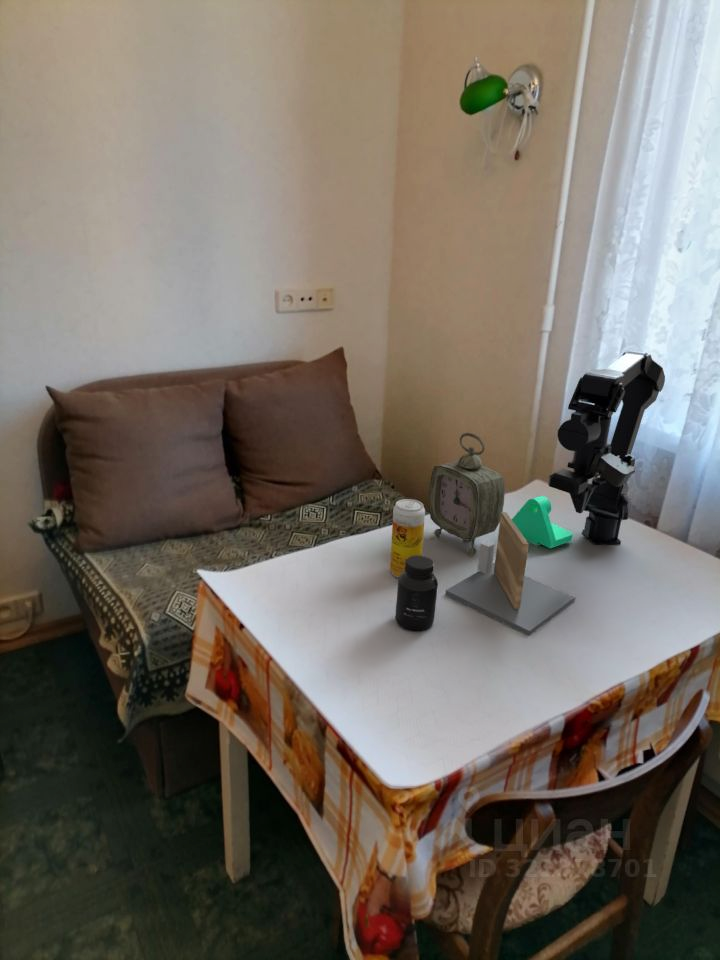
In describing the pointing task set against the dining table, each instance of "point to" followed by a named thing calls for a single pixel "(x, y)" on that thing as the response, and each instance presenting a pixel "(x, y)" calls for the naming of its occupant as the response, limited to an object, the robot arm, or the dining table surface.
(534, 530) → the camera mount
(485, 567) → the housing stand
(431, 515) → the tabletop clock
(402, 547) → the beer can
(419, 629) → the supplement bottle
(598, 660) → the dining table surface
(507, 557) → the door
